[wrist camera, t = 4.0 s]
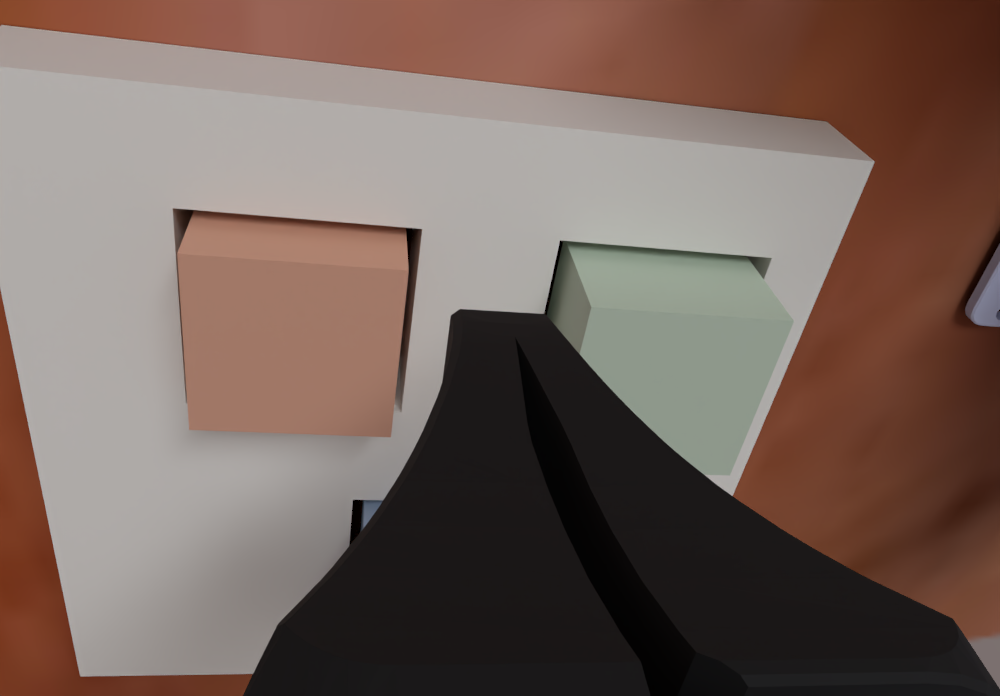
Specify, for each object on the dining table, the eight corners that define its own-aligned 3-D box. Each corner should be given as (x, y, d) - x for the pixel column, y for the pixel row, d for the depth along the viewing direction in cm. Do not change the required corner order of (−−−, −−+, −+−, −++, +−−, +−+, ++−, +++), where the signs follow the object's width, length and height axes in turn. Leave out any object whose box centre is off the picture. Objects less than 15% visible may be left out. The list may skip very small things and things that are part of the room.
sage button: (743, 251, 20) (793, 321, 18) (691, 397, 23) (729, 475, 20) (564, 236, 19) (591, 307, 17) (530, 389, 22) (550, 470, 19)
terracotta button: (404, 204, 19) (408, 270, 17) (388, 360, 22) (391, 437, 19) (202, 187, 19) (177, 253, 16) (210, 350, 21) (189, 429, 19)
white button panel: (826, 121, 20) (874, 161, 18) (640, 608, 30) (659, 668, 28) (2, 24, 17) (-47, 61, 15) (101, 609, 27) (80, 676, 25)
